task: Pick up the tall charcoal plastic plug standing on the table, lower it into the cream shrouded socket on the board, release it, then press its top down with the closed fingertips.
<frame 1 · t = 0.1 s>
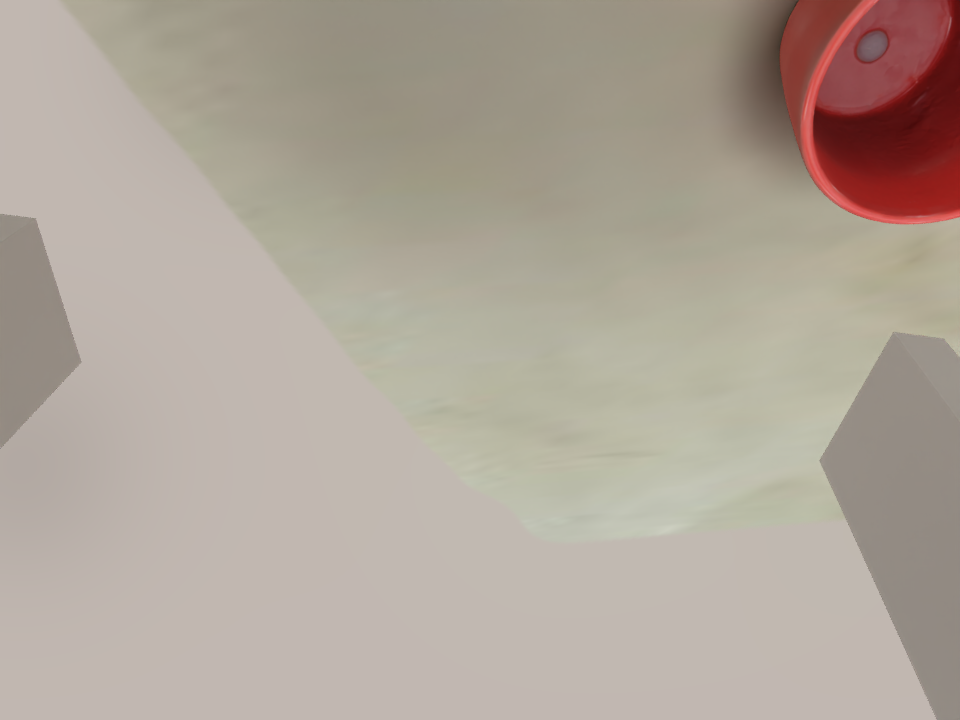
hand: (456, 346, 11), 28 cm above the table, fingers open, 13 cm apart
flower pot: (861, 38, 33), on the table
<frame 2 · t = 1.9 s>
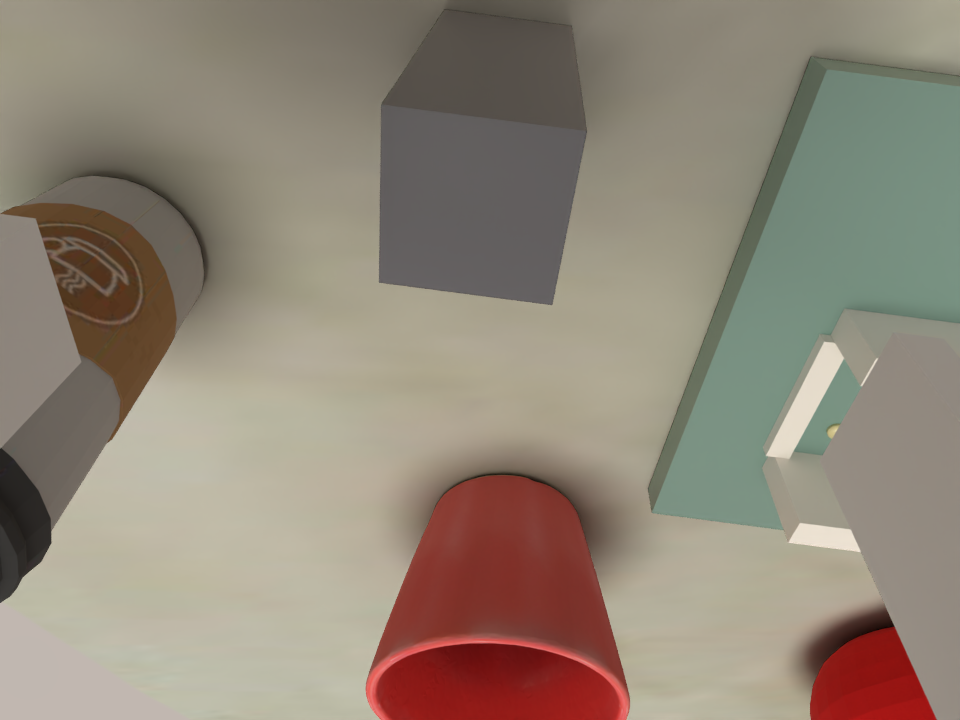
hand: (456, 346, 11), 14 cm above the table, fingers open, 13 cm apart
plug: (500, 84, 22), on the table
coffee cup: (133, 243, 27), on the table
flower pot: (506, 520, 36), on the table
board: (896, 345, 27), on the table
tomato: (892, 648, 40), on the table
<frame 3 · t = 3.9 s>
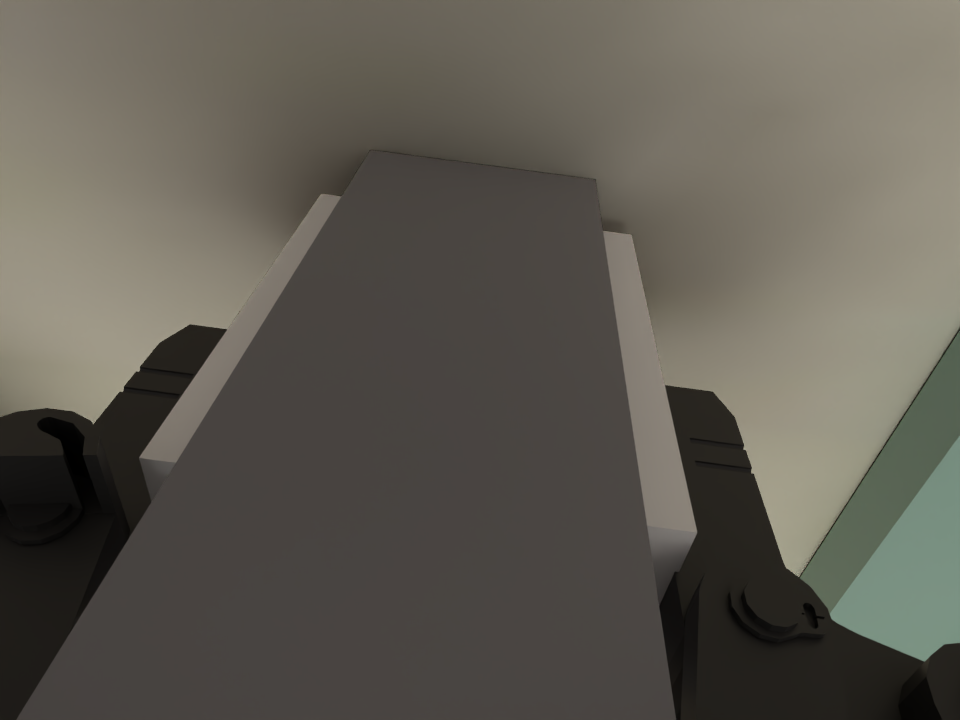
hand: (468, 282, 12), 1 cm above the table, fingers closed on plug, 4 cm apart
plug: (471, 264, 13), on the table, touching gripper
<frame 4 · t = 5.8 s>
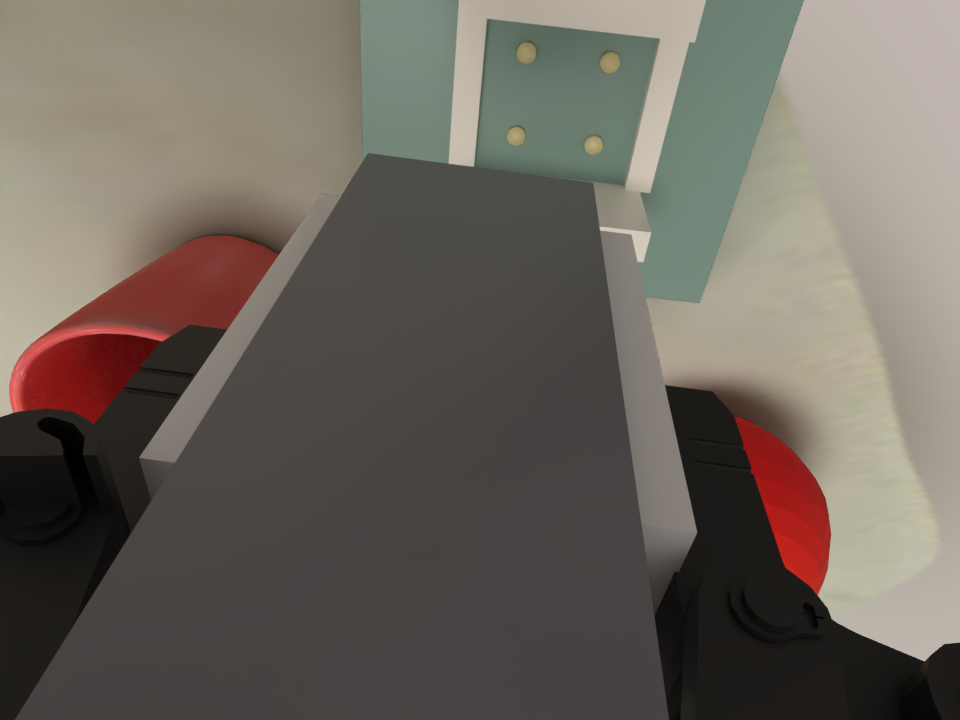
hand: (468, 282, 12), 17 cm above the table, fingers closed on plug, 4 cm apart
plug: (469, 267, 13), point 16 cm above the table, touching gripper
flower pot: (244, 301, 34), on the table
board: (569, 32, 25), on the table
tomato: (681, 455, 38), on the table
when the fingers open (3 cm above the table, at t = 8.1 s): plug stays where it is, resting on board.
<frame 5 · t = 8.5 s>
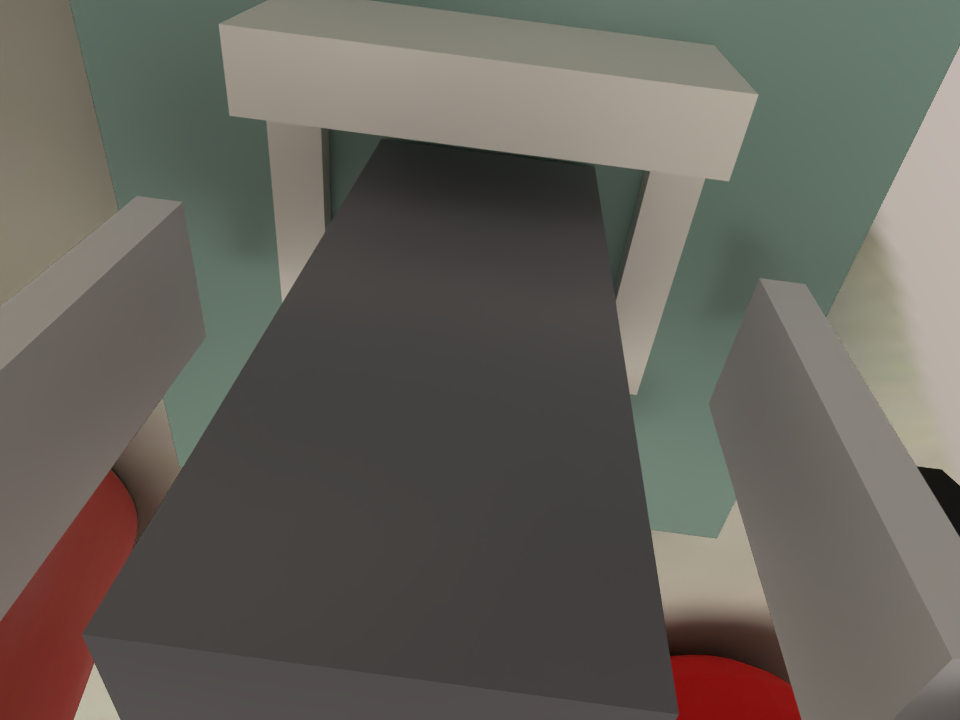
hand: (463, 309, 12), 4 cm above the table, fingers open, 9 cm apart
plug: (477, 249, 14), point 2 cm above the table, touching board
flower pot: (29, 486, 22), on the table
board: (492, 121, 14), on the table
tomato: (683, 688, 27), on the table
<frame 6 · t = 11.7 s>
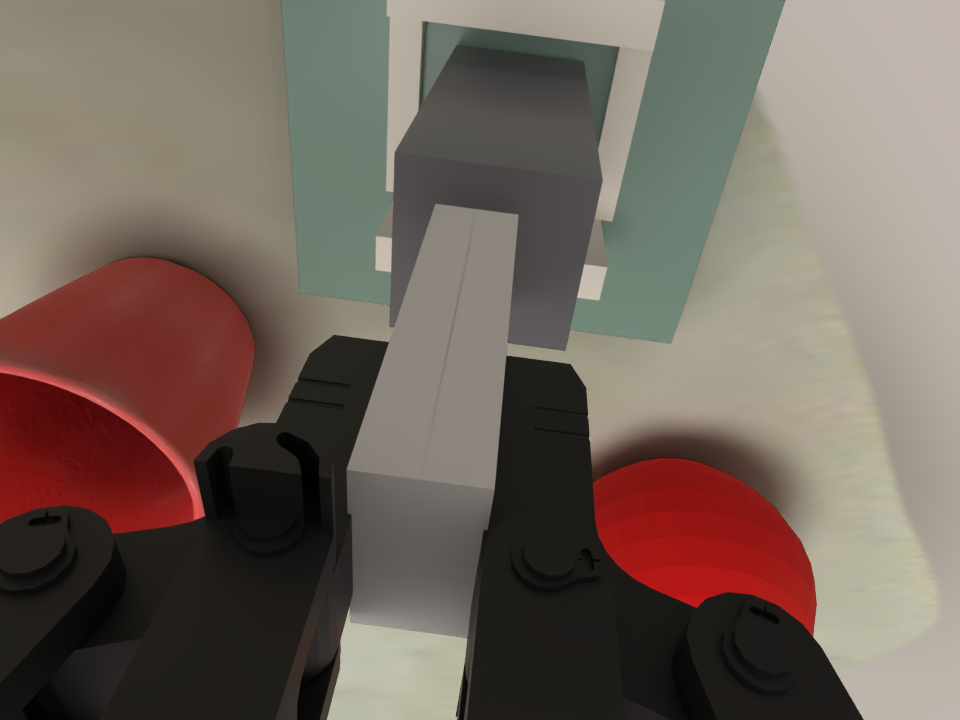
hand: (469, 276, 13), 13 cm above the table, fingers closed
plug: (511, 118, 22), point 2 cm above the table, touching board
flower pot: (176, 329, 31), on the table
board: (521, 40, 22), on the table
tomato: (656, 504, 35), on the table
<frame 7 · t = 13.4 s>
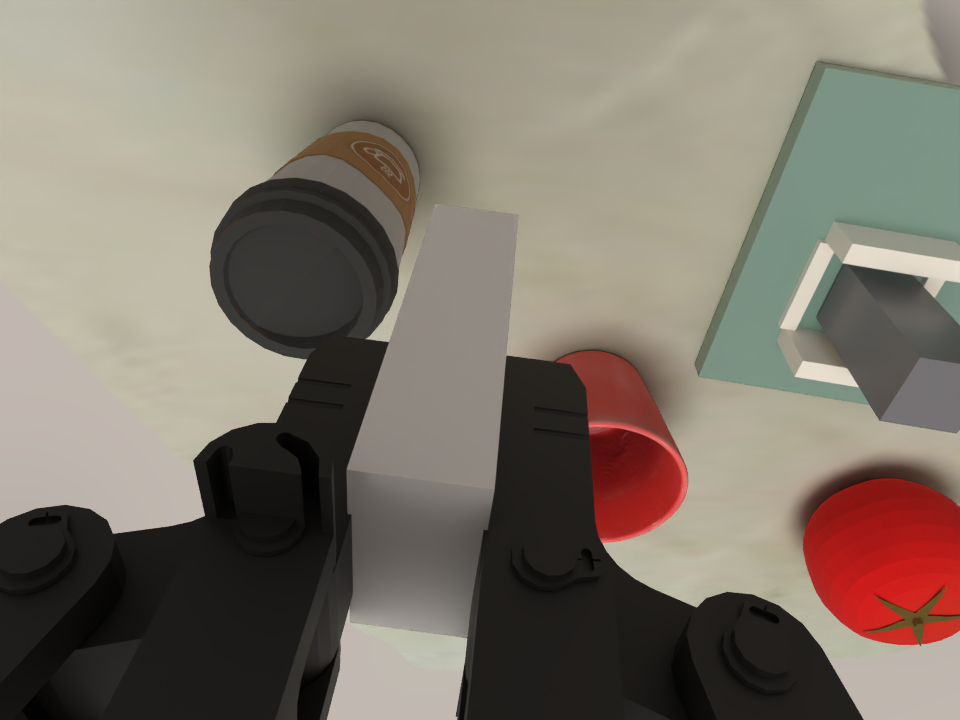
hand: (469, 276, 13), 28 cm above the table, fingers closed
plug: (862, 296, 41), point 2 cm above the table, touching board
coffee cup: (370, 169, 41), on the table
flower pot: (589, 391, 50), on the table
board: (866, 254, 41), on the table
tomato: (864, 507, 54), on the table
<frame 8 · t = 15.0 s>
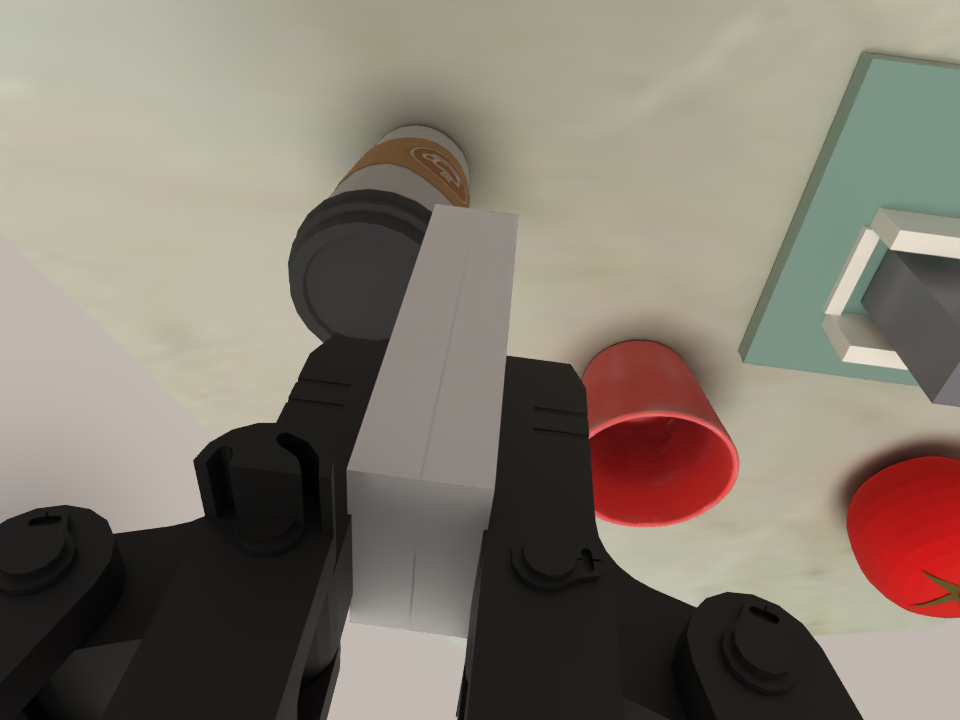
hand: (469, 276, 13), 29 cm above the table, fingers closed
plug: (906, 280, 42), point 2 cm above the table, touching board
coffee cup: (420, 172, 42), on the table
flower pot: (634, 379, 51), on the table
board: (910, 238, 42), on the table
tomato: (905, 485, 55), on the table
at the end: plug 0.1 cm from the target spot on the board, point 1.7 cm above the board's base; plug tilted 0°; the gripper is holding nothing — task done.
